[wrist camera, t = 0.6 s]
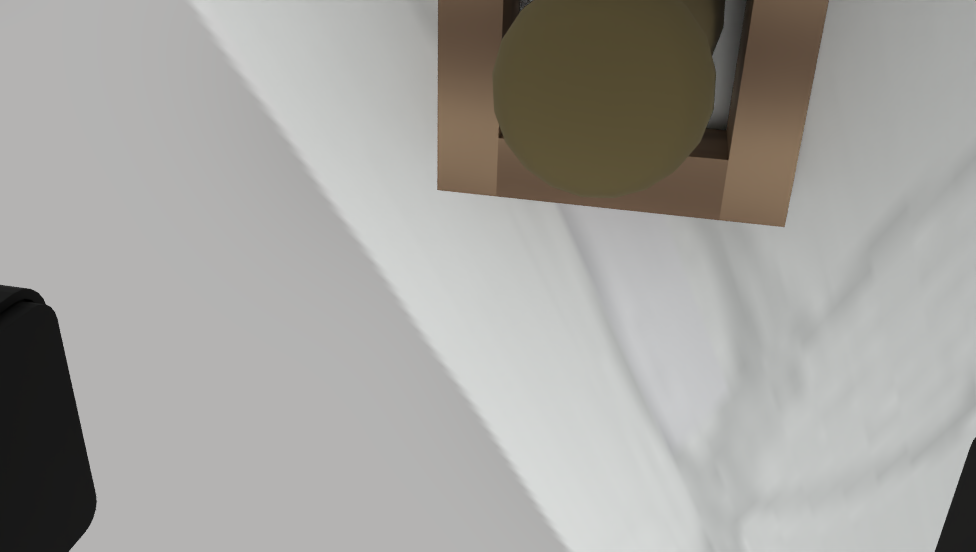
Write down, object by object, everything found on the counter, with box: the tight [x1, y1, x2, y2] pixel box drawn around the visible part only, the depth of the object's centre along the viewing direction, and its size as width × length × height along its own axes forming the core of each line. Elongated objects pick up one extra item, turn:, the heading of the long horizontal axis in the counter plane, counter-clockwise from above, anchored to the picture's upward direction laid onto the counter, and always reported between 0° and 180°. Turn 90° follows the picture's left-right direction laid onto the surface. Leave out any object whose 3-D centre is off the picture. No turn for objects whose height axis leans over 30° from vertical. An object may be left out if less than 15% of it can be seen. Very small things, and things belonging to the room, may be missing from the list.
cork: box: [492, 0, 725, 198], centre depth 25 cm, size 6×6×11 cm
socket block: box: [437, 0, 829, 227], centre depth 28 cm, size 11×11×3 cm
